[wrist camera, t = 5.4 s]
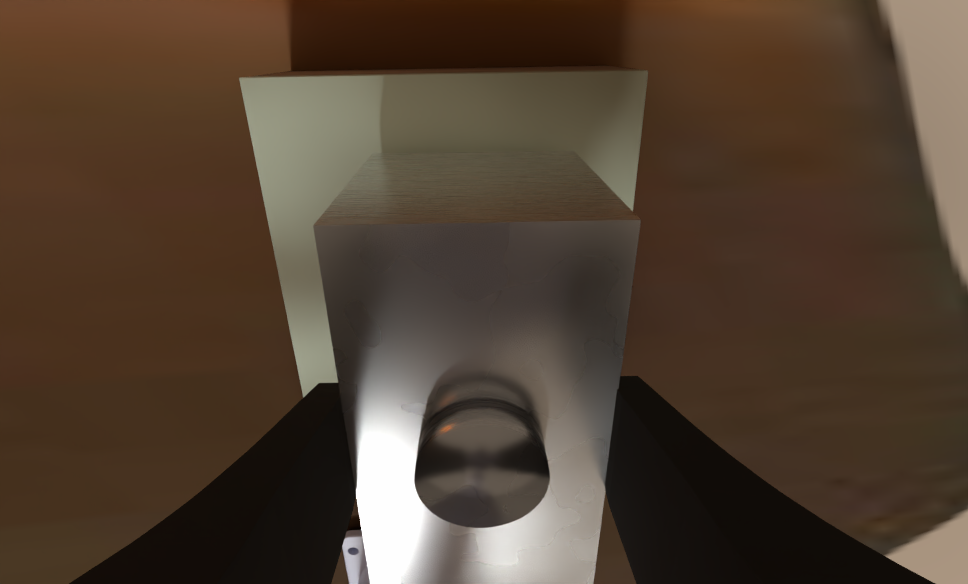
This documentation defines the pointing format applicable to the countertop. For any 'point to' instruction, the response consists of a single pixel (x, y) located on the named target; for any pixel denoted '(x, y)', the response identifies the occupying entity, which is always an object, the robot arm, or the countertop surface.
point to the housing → (478, 359)
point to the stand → (416, 148)
